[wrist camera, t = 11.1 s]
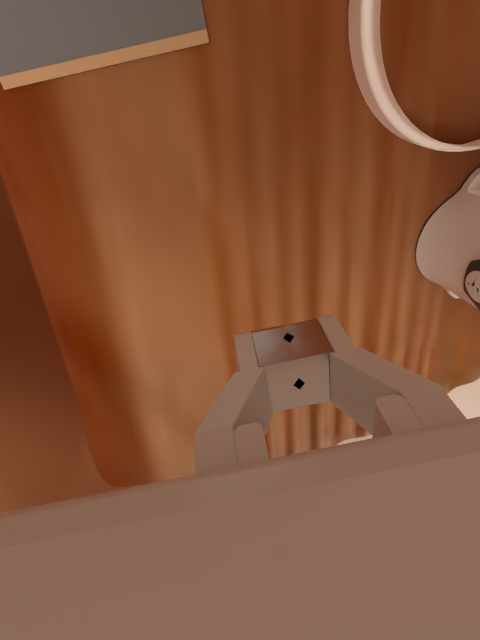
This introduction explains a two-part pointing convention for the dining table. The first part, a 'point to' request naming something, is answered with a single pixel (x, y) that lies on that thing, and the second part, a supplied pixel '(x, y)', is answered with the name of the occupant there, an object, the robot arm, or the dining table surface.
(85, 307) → the dining table surface
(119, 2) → the grey flat slab
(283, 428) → the dining table surface
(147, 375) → the dining table surface
